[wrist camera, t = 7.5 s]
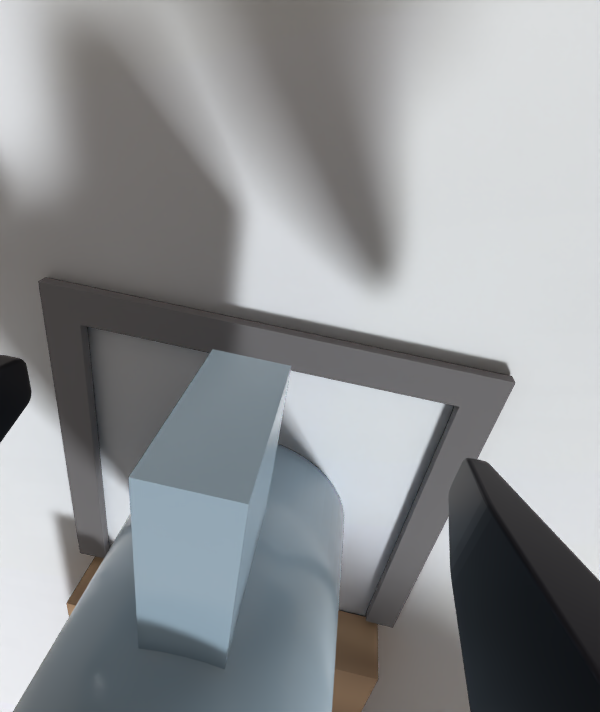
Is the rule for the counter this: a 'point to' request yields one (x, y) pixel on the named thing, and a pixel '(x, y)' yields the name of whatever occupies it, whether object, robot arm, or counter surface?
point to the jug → (210, 568)
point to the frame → (304, 354)
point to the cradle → (351, 660)
